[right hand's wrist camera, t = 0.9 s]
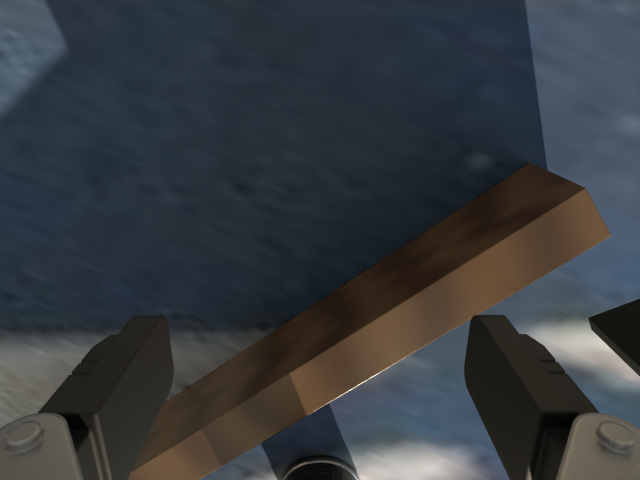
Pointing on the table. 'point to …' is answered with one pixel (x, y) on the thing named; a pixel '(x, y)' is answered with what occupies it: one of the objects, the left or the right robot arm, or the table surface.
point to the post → (375, 321)
